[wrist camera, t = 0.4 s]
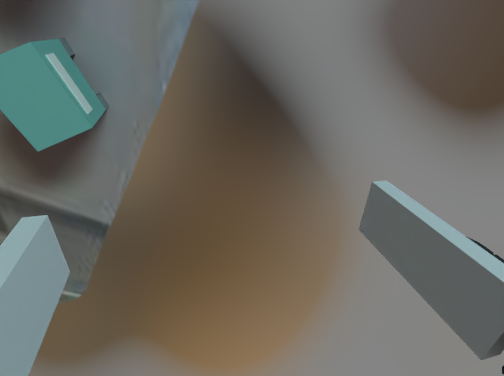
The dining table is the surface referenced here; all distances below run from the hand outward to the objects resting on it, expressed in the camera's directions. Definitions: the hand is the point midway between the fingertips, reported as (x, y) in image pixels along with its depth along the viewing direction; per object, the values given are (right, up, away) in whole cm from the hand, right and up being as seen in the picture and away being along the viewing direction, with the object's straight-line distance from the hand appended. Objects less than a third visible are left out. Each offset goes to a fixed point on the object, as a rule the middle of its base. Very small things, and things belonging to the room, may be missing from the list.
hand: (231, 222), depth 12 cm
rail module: (-18, +12, +17) cm, 28 cm away
